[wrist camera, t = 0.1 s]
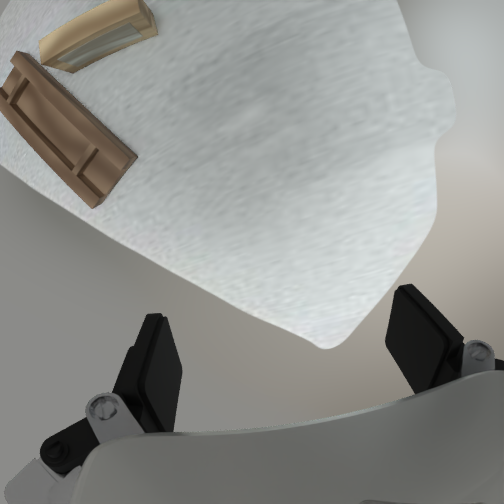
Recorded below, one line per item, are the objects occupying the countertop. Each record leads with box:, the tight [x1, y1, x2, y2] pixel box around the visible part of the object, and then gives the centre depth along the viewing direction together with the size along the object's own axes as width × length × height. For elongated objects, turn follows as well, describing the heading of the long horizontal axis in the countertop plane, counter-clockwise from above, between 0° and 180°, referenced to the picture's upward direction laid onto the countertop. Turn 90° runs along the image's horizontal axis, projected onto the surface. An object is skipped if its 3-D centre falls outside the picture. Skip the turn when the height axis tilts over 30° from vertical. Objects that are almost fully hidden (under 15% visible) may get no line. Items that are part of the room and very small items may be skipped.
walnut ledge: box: [0, 51, 138, 209], centre depth 32 cm, size 9×30×4 cm, turn 44°
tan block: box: [39, 0, 158, 73], centre depth 26 cm, size 4×14×9 cm, turn 104°
